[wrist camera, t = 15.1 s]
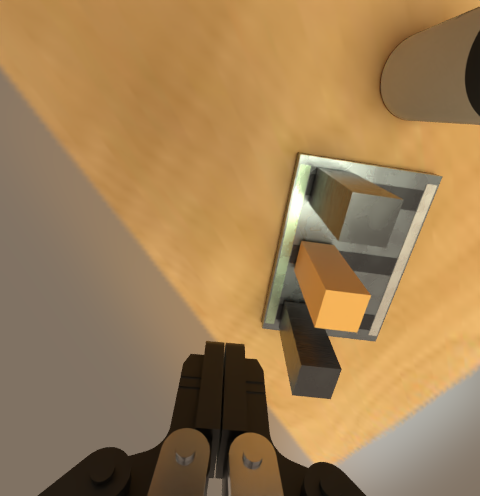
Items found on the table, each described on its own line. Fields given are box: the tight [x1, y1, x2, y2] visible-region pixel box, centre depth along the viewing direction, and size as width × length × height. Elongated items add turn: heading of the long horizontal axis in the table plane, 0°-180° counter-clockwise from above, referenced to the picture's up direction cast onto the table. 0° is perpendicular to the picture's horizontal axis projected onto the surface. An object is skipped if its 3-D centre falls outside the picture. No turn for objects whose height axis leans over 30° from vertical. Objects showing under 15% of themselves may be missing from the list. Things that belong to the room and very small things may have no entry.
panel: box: [261, 153, 442, 399], centre depth 34 cm, size 23×16×13 cm
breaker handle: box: [294, 241, 371, 332], centre depth 33 cm, size 4×4×11 cm
